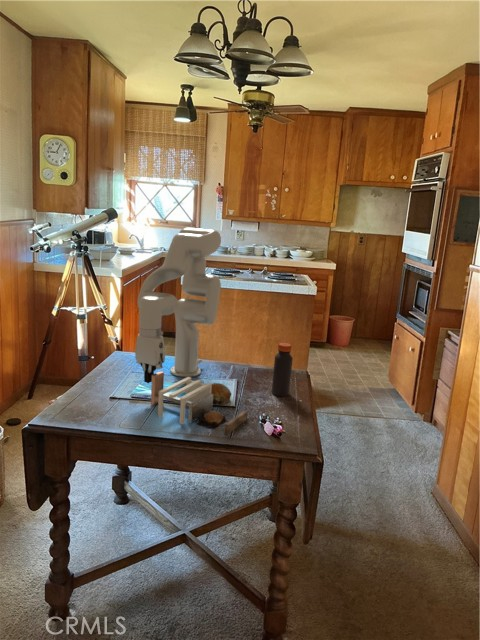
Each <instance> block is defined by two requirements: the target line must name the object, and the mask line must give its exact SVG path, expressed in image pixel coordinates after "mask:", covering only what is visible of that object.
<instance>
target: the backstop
mask: <svg viewBox="0 0 480 640" xmlns="http://www.w3.org/2000/svg"><path fill="white" fill-rule="evenodd" d="M247 418H248V411H247V410H243V411H242V412H240V413H238V414H237V415H236V416H235V417H233V418H232V419H230V420H229V421H227V422H226V423H225V424H224V432H223V433H224V434H227V435H229V434H230V433H231V432H233V431H234V430H235V429H236V428H238V427H239V426H240V425H241V424H243V423H244V422H245V421H246V420H248V419H247Z"/></svg>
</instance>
